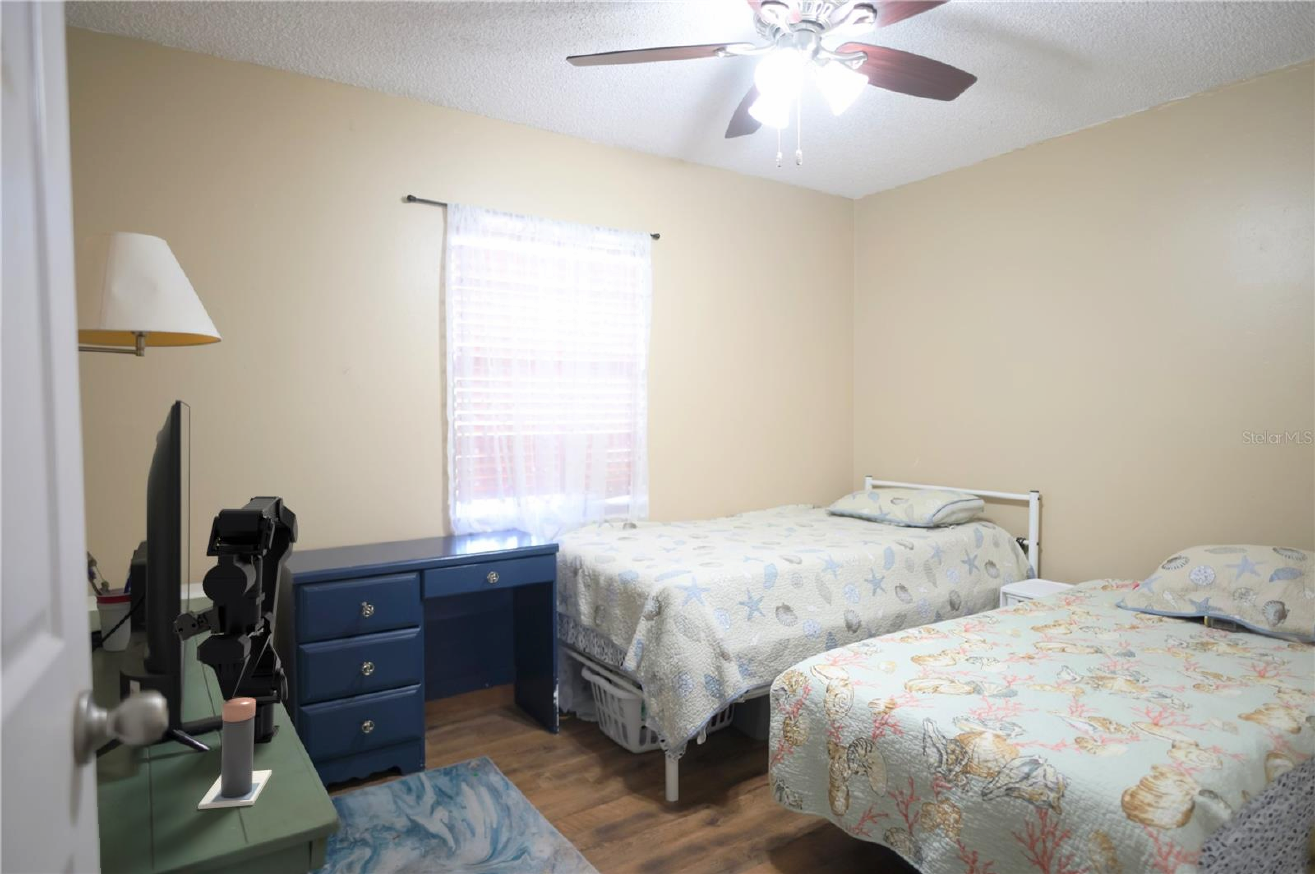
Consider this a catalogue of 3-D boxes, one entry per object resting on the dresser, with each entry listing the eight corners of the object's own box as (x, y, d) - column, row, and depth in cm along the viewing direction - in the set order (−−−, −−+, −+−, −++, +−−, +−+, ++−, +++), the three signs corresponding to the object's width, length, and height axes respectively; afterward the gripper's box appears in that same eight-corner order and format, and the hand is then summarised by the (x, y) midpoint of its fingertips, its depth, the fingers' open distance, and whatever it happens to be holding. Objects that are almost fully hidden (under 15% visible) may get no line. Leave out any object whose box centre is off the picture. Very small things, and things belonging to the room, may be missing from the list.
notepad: (221, 777, 115) (221, 772, 115) (271, 773, 117) (271, 769, 117) (198, 809, 105) (198, 804, 105) (252, 805, 107) (253, 800, 107)
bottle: (225, 786, 111) (228, 698, 111) (256, 784, 112) (259, 696, 112) (215, 799, 107) (218, 708, 107) (248, 797, 108) (250, 707, 108)
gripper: (203, 578, 123) (200, 673, 123) (157, 603, 105) (153, 714, 105) (277, 577, 126) (274, 670, 126) (244, 602, 108) (241, 710, 108)
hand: (237, 689), depth 116 cm, fingers open, 9 cm apart
